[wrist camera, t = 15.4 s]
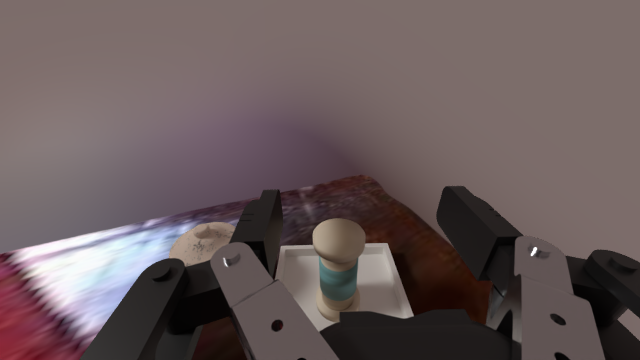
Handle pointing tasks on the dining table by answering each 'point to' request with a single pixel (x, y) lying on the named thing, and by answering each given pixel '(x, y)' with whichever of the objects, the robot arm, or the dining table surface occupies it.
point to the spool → (338, 266)
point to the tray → (372, 282)
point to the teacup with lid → (201, 242)
